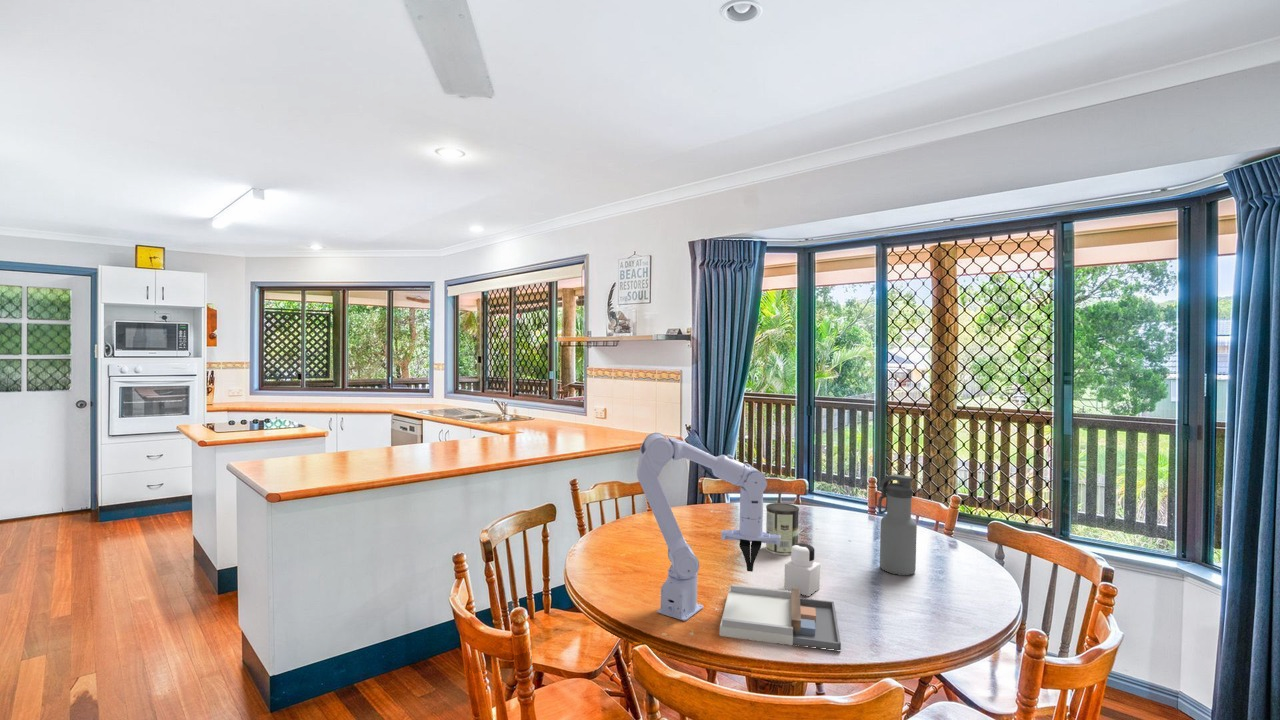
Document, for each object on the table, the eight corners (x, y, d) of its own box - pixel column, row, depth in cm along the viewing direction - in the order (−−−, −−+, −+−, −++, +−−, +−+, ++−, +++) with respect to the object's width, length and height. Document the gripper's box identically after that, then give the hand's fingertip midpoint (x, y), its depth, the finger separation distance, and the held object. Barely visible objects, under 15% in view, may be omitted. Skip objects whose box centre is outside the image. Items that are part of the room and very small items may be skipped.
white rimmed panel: (719, 635, 135) (719, 620, 135) (729, 596, 156) (729, 583, 156) (792, 645, 131) (793, 629, 131) (792, 604, 152) (792, 590, 152)
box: (792, 645, 131) (792, 637, 131) (792, 604, 152) (792, 597, 152) (840, 652, 128) (840, 643, 128) (833, 608, 150) (833, 601, 150)
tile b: (794, 633, 136) (794, 626, 136) (794, 624, 140) (794, 617, 140) (815, 635, 135) (815, 629, 135) (814, 626, 139) (814, 620, 139)
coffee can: (785, 543, 200) (786, 501, 199) (804, 553, 190) (805, 509, 190) (759, 546, 196) (760, 504, 196) (777, 557, 186) (778, 512, 186)
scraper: (791, 630, 133) (791, 619, 133) (791, 598, 150) (791, 588, 150) (800, 632, 132) (800, 620, 132) (799, 599, 150) (799, 589, 150)
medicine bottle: (795, 582, 167) (796, 539, 166) (819, 589, 162) (821, 545, 162) (783, 589, 161) (784, 545, 161) (809, 597, 157) (810, 551, 156)
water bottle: (872, 569, 177) (875, 475, 177) (886, 561, 184) (888, 471, 184) (907, 579, 170) (910, 481, 170) (920, 570, 177) (923, 476, 176)
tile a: (796, 619, 143) (796, 613, 143) (796, 611, 147) (796, 605, 147) (815, 622, 142) (816, 615, 141) (815, 614, 146) (815, 607, 146)
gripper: (781, 514, 152) (780, 567, 152) (723, 509, 155) (722, 561, 155) (780, 522, 145) (779, 577, 145) (720, 517, 148) (719, 571, 149)
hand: (750, 570), depth 150 cm, fingers closed
